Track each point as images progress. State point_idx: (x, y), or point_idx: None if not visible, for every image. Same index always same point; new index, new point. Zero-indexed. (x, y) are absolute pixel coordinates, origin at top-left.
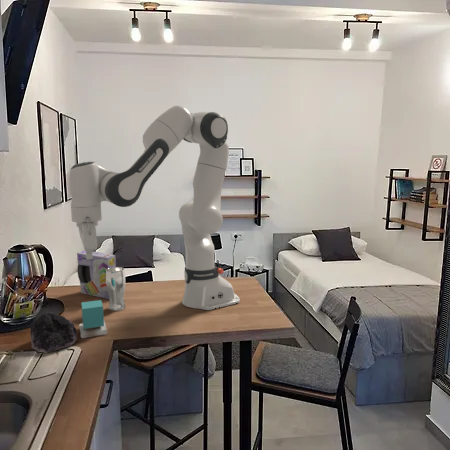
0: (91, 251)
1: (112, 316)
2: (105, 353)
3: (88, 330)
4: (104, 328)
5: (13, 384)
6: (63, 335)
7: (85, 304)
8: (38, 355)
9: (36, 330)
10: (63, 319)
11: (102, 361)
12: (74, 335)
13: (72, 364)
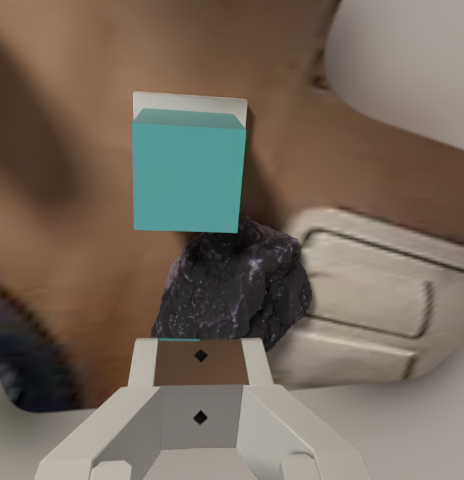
0: (311, 426)
1: (36, 30)
2: (402, 137)
3: None
4: (229, 110)
5: (421, 364)
6: (283, 275)
7: (174, 213)
8: (298, 321)
9: None
10: (251, 296)
11: (449, 156)
12: (264, 233)
13: (410, 241)
